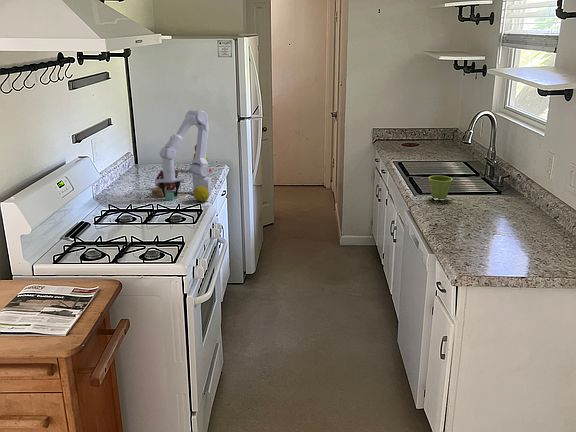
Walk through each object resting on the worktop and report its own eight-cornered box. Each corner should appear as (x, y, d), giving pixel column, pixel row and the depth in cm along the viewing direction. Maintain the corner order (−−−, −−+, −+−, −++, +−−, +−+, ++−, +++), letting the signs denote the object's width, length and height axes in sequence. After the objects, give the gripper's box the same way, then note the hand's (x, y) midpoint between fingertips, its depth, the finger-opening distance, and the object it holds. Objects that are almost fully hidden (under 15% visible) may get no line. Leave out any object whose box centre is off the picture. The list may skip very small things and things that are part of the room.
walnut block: (167, 195, 301) (166, 188, 299) (162, 198, 295) (162, 190, 294) (156, 194, 302) (155, 187, 300) (151, 197, 296) (151, 190, 295)
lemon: (210, 203, 284) (209, 188, 282) (194, 204, 283) (193, 189, 280) (208, 198, 294) (207, 183, 292) (193, 199, 293) (192, 183, 290)
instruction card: (190, 194, 301) (190, 194, 300) (186, 197, 295) (186, 197, 295) (175, 194, 302) (175, 193, 302) (171, 197, 296) (171, 196, 296)
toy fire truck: (157, 187, 317) (156, 169, 314) (179, 187, 317) (178, 168, 314) (155, 190, 310) (153, 171, 307) (177, 190, 311) (176, 171, 307)
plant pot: (423, 200, 289) (425, 178, 285) (431, 195, 298) (433, 174, 295) (446, 204, 282) (448, 182, 279) (454, 198, 292) (455, 177, 289)
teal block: (175, 198, 294) (175, 190, 293) (173, 200, 290) (172, 192, 289) (168, 198, 295) (167, 190, 293) (165, 200, 291) (165, 192, 290)
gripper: (182, 168, 293) (184, 193, 297) (154, 169, 290) (156, 195, 294) (183, 171, 287) (185, 197, 291) (154, 172, 283) (156, 199, 287)
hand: (170, 196), depth 292 cm, fingers closed on teal block, 5 cm apart
